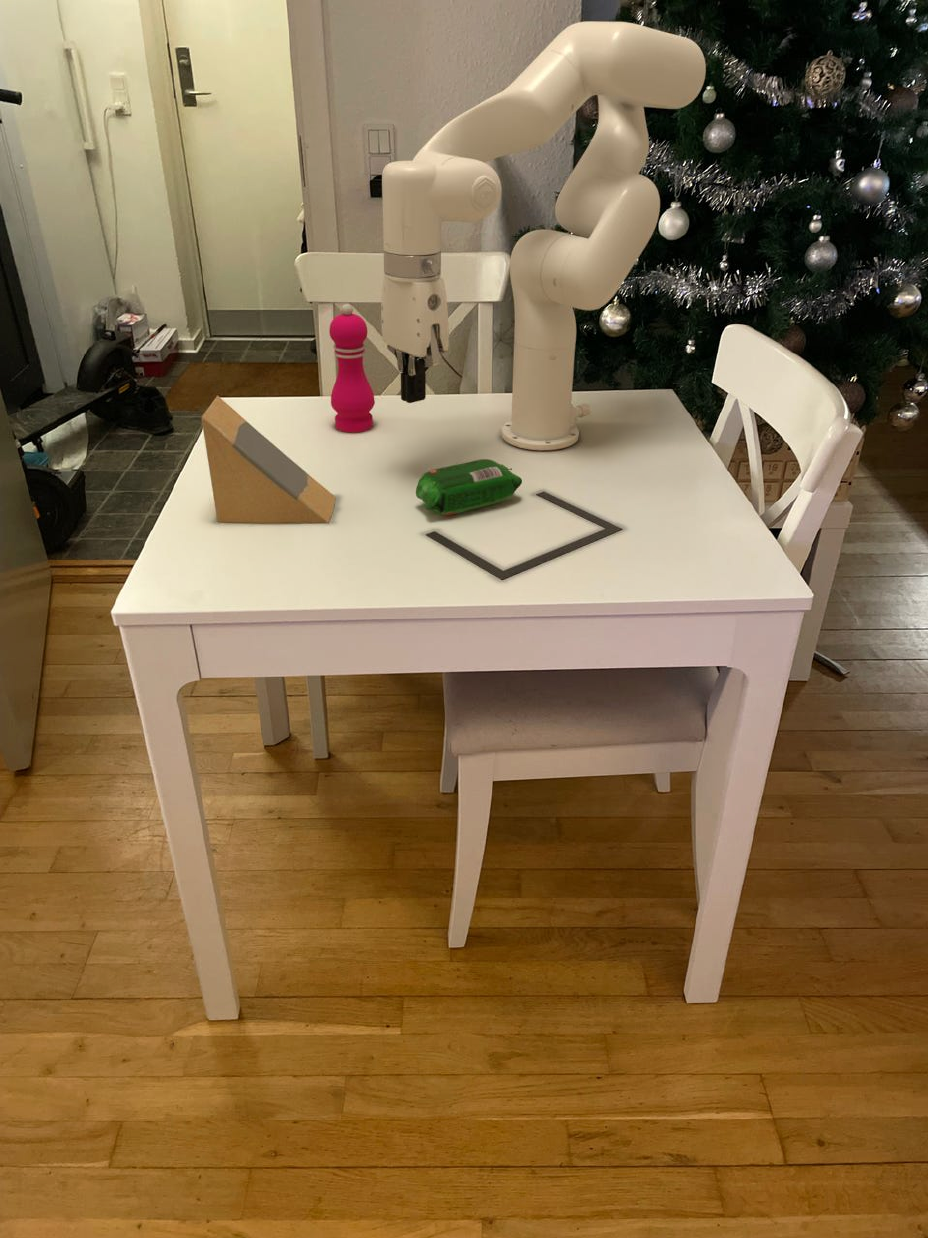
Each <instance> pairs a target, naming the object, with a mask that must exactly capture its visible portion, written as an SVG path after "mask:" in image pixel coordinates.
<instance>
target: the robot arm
mask: <svg viewBox="0 0 928 1238" xmlns="http://www.w3.org/2000/svg"><path fill="white" fill-rule="evenodd" d="M706 68H707V65H706V59H705V56H704V53H703V51H702V49H701V47H700V46H699V45H698V44H697V43H696V42H695V41H694V40H692V39H691V38H688V37H685V36H681V35H677V34H673V33H669V32H666V31H663V30H658V29H655V28H651V27H648V26H644V25H640V24H637V23H632V22H627V21H579V22H576V23H572V24H570V25H568V26H567V27H566V28H564V29H563V30H562V31H561V32H559V34H558V35H556V37H555V38H553V40H552V41H551V42H550V43H549V44H548V45H547V46H546V47H545V48H544V49H543V50H542V51H541V52H540V53H539V55H537V57H535V58H534V60H532V62H531V63H530V64H529V65H528V66H527V67H525V69H524V70H523V71H522V72H521V73H520V74H519V75H518V76H517V77H516V78H515V79H514V80H513V82H511V83H510V84H509V85H508V86H507V87H506V88H505V89H504V90H502V91H501V92H498V93H496V94H494V95H492V96H491V97H488V98H486V99H485V100H483V101H482V102H480V103H478V104H477V105H475V106H474V107H472V108H470V109H468V110H465V111H464V112H462V113H461V114H459V115H457V116H456V117H454V118H453V119H451V120H450V121H448V123H446V124H445V125H444V126H443V127H441V128H440V129H439V130H438V131H437V132H436V133H435V134H434V135H433V136H432V137H431V138H430V139H429V140H428V141H427V142H426V143H425V144H424V145H423V146H422V148H420V149H419V151H418V152H417V153H416V154H415V156H414V157H413V159H412V160H396V161H392V162H390V163H387V164H386V165H385V166H384V167H383V170H382V173H381V194H382V195H381V197H382V200H381V201H382V235H383V236H382V237H383V239H382V240H383V243H382V244H383V280H382V290H381V303H380V304H381V305H380V306H381V307H380V328H381V337H382V340H383V342H384V343H385V344H386V347H387V351H388V352H390V353H391V354H393V355H394V357H395V359H396V363H397V370H398V372H400V399H401V401H403V402H406V403H407V404H412V403H417V402H421V401H425V400H426V398H427V396H426V395H427V393H426V391H427V388H426V387H427V377H426V376H427V374H428V373H429V369H430V368H434V367H439V366H440V365H441V358H440V354H445V353H447V352H448V351H449V347H450V327H449V325H450V324H449V309H448V308H449V307H448V299H447V291H446V287H445V282H444V279H443V278H441V274H442V273H441V266H442V265H441V263H442V261H441V260H442V257H441V256H442V223H443V222H460V223H475V222H476V223H477V222H480V221H483V220H485V219H486V218H488V217H489V216H490V215H492V214H493V213H494V212H495V211H496V209H497V208H498V206H499V204H500V201H501V198H502V183H501V179H500V177H499V175H498V173H497V172H496V171H495V170H494V168H492V166H490V165H489V164H488V162H490V161H492V160H495V159H498V158H501V157H505V156H510V155H513V154H519V153H522V152H527V151H529V150H532V149H535V148H537V147H540V146H542V145H544V144H546V143H548V142H549V141H551V139H552V138H553V137H554V136H555V135H556V134H557V132H558V131H559V130H560V129H561V128H562V127H563V126H564V125H565V124H566V123H567V122H568V121H569V119H570V118H572V116H574V114H575V113H576V112H577V111H578V110H579V109H580V108H581V107H582V106H583V105H584V104H585V103H586V102H587V101H588V100H589V99H590V98H592V97H594V96H597V102H598V103H597V105H598V123H597V126H596V130H595V132H594V135H593V137H592V139H591V140H590V141H589V144H588V145H587V147H586V149H585V151H584V152H583V154H582V155H581V157H580V158H579V160H578V162H577V164H576V165H575V167H574V168H573V170H572V172H571V174H570V175H569V176H568V178H567V180H566V181H565V183H564V185H563V187H562V188H561V190H560V191H559V194H558V196H557V199H556V203H555V206H554V211H555V218H556V221H557V222H558V224H559V225H560V227H561V228H563V229H564V230H566V231H567V232H569V233H567V232H563V231H558V230H553V229H534V230H532V231H529V232H527V233H525V234H524V235H522V236H521V237H520V238H519V239H518V240H517V241H516V243H515V245H514V247H513V249H512V251H511V255H510V259H509V275H510V276H509V277H510V284H511V292H512V296H513V309H514V335H513V340H514V341H513V360H512V361H513V364H512V390H511V392H512V393H511V395H512V396H511V420H509V421H508V422H506V423H504V424H503V425H502V427H501V438H502V439H503V440H504V441H505V442H506V443H508V444H509V445H511V446H514V447H516V448H520V449H525V450H530V451H554V450H561V449H565V448H568V447H571V446H573V445H574V444H576V443H577V441H578V440H579V437H580V430H579V429H578V427H577V426H576V425H575V422H576V421H577V420H578V418H579V419H580V418H584V417H587V416H589V415H590V413H591V407H590V405H589V404H588V403H583V404H581V405H577V406H574V405H573V404H572V396H573V383H574V370H575V352H576V341H577V323H576V322H577V321H576V316H575V312H574V309H578V310H582V311H595V310H599V309H601V308H603V307H604V306H605V305H606V304H608V303H609V302H610V300H611V299H613V298H614V296H615V295H616V293H617V292H618V291H619V289H620V287H621V286H622V284H623V283H624V281H625V279H626V278H627V277H628V275H629V273H630V272H631V270H632V268H633V267H634V265H635V264H636V262H637V260H638V259H639V257H640V256H641V255H642V252H643V251H644V250H645V248H646V246H647V245H648V243H649V241H650V239H651V238H652V236H653V234H654V232H655V229H656V227H657V223H658V220H659V216H660V211H661V198H660V193H659V190H658V188H657V186H656V184H655V183H654V182H653V181H652V179H650V178H648V177H647V176H645V175H642V174H640V172H641V170H642V169H643V167H644V165H645V163H646V161H647V157H648V154H649V149H650V148H649V147H650V139H649V132H648V128H647V127H648V126H647V122H646V115H645V108H656V109H667V110H678V109H681V108H685V107H686V106H688V105H690V104H691V103H693V101H694V100H695V99H696V98H697V97H698V95H699V94H700V92H701V90H702V88H703V86H704V83H705V79H706V74H707V73H706V71H707V69H706Z"/></svg>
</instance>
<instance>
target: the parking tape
mask: <svg viewBox="0 0 928 1238" xmlns="http://www.w3.org/2000/svg"><path fill="white" fill-rule="evenodd" d="M536 496H538V497H540V498H541V499H544V500H546V501H548V502H551V503H552V504H554V505H556V506H559V507H561V508H563V509H565V510H567V511H569V512H570V513H573V514H575V515H577V516H580V517H581V518H583V519H586V520H587V521H590V522H592V523H594V524H596V525H598V526H600V527H602V528H603V529H600V530H598V531H596V532H593V533H590V534H589V535H586V536H584V537H582V538H579V539H577V540H575V541H572V542H570V543H567V544H564V545H563V546H559V547H557V548H555V549H552V550H549V551H548V552H545V553H542V554H540V555H538V556H536V557H533V558H531V559H528V560H525V561H523V562H521V563H518V564H515V565H514V566H511V567H509V568H506V569H504V570H503V569H501V568H499V566H496V565H494V564H492V563H491V562H490V561H487V560H486V559H484V558H482V557H481V556H479V555H477V554H475V553H473V552H472V551H471V550H468V549H466V548H465V547H463V546H462V545H460V544H458V543H456V542H454V541H453V540H452V539H449V538H448V537H446V536H444V535H442V534H441V533H439V532H437V531H435V530H433V531H431V532H428V533H425V536H426V537H428V538H430V539H432V540H434V541H435V542H437V543H439V544H440V545H442V546H443V547H446V548H447V549H449V550H451V551H452V552H454V553H456V554H458V555H459V556H460V557H463V558H464V559H466V560H468V561H469V562H471V563H472V564H474V565H476V566H478V567H480V568H481V569H483V571H486V572H488V573H489V574H491V575H493V576H495V577H496V578H498V579H500V580H501V581H503V580H506V579H508V578H510V577H513V576H515V575H517V574H521V573H522V572H524V571H527V570H530V569H532V568H534V567H537V566H539V565H541V564H543V563H546V562H548V561H552V560H553V559H555V558H558V557H561V556H563V555H565V554H567V553H570V552H572V551H575V550H577V549H580V548H582V547H584V546H586V545H589V544H591V543H593V542H594V543H595V542H596V541H599V540H600V539H603V538H606V537H608V536H610V535H613V534H616V533H617V532H620V531H622V530H623V528H622V527H619V526H618V525H616V524H613V523H611V522H610V521H607V520H606V519H603V518H601V517H599V516H597V515H594V514H593V513H591V512H589V511H586V510H584V509H582V508H580V507H578V506H575V505H573V504H571V503H570V502H568V501H566V500H563V499H561V498H559V497H556V496H554V495H553V494H551V493H548V492H546V491H541V492H538V493H536Z"/></svg>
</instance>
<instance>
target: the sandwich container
mask: <svg viewBox="0 0 928 1238" xmlns="http://www.w3.org/2000/svg"><path fill="white" fill-rule="evenodd" d="M208 406H209V407H207V409H206V410H205V412H204V413H203V414H202V416H201V424H202V425H201V426H202V431H203V437H204V444H205V451H206V457H207V458H206V459H207V463H208V464H207V465H208V469H209V478H210V483H211V490H212V494H213V501H214V508H215V509H214V510H215V515H216V521H217V522H218V523H248V524H249V523H250V524H251V523H253V524H321V523H322V524H329V523H330V520H331V518H332V515H333V514H334V510H335V504H336V499H337V498H336V496H335V495H334V494H333V493H332V492H330V491H329V490H328V489H327V488H326V487H324V486H323V485H322V484H321V483H320V482H318V480H316V479H315V478H314V477H313V476H312V475H310V474H309V473H308V472H306V471H305V470H304V469H303V468H302V467H300V466H299V464H297V463H296V462H295V461H293V460H292V459H291V458H290V457H289V456H287V455H286V454H285V453H284V451H282V450H280V448H278V447H277V446H276V445H275V444H274V443H272V442H271V441H270V440H269V439H268V438H267V437H266V436H265V435H263V434H262V433H260V431H258V430H257V429H256V428H255V427H254V426H253V425H252V424H251V423H249V422H248V420H246V419H245V418H244V417H243V416H242V415H240V413H238V412H237V411H236V410H235V409H234V408H232V406H231V405H229V404H228V403H227V402H226V401H225V400H223V398H221V397H220V396H219V395H216V397H215V398H214V399H213V401H212V402H211V404H210V405H208Z"/></svg>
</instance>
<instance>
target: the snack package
mask: <svg viewBox="0 0 928 1238" xmlns="http://www.w3.org/2000/svg"><path fill="white" fill-rule="evenodd" d="M512 471H513V468H512V467H511V468H508V467H507V466H505V465H504V464H501V463H499V462H497V461H495V460H492V459H489V458H482V459H476V460H471V461H466V462H462V463H456V464H452V465H448V466H444V467H438V468H435V469H431V470H429V471H426V472H424V473H423V474H422V475H421V476H420V478H419V479H418V481H417V485H416V488H415V496H416V498H417V499H419V500H421V501H422V502H423V503H424V505H425V508H426V509H427V510H429V511H434V512H435V513H436V514H438V515H440V516H441V515H442V516H452V515H456V514H461V513H464V512H467V511H471V510H476V509H480V508H483V507H488V506H492V505H494V504H498V503H502V502H505V501H507V500H508V499H509V498H511V497H512V496H513V495H514V493H515V492H516V491H517V490H518V488H519V487H521V485H522V484H523V479H522V478H521V476H519V475H517V474H515V473H513V472H512Z"/></svg>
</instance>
